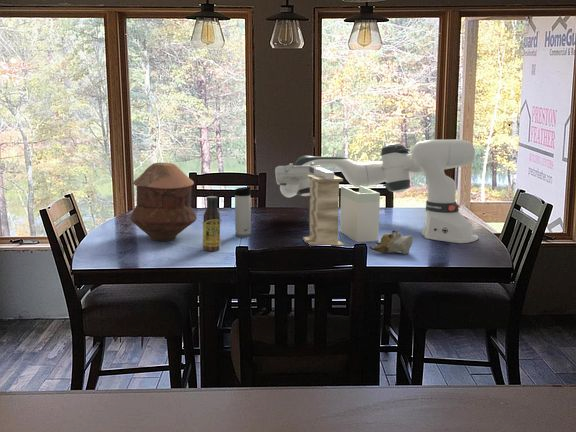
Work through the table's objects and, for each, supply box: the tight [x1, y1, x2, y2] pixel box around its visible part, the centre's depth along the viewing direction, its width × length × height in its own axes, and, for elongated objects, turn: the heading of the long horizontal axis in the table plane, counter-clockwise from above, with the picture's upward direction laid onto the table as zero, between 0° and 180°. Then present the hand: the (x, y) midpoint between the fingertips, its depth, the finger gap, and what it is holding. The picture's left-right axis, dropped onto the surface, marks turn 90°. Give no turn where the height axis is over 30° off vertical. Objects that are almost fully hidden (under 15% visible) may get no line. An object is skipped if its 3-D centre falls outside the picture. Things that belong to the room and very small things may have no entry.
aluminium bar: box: [309, 166, 335, 179], centre depth 249 cm, size 22×3×2 cm, turn 14°
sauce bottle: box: [202, 195, 221, 252], centre depth 238 cm, size 7×6×20 cm
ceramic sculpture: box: [369, 230, 414, 255], centre depth 236 cm, size 11×9×15 cm
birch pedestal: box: [302, 174, 346, 247], centre depth 248 cm, size 16×12×26 cm
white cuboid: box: [339, 185, 381, 243], centre depth 262 cm, size 20×9×19 cm, turn 14°
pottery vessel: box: [130, 162, 197, 242], centre depth 255 cm, size 26×26×30 cm
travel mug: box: [234, 186, 252, 238], centre depth 262 cm, size 6×7×20 cm
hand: (302, 164), depth 273 cm, fingers open, 8 cm apart
